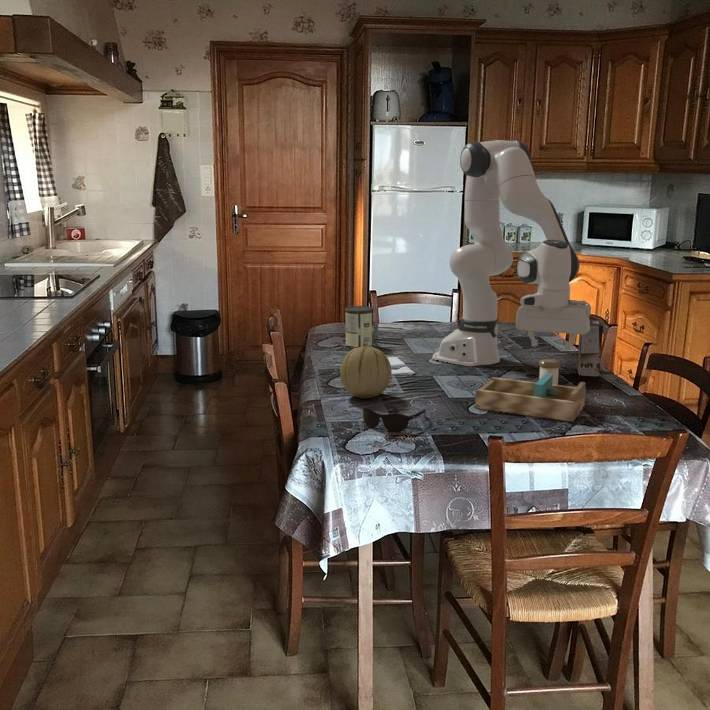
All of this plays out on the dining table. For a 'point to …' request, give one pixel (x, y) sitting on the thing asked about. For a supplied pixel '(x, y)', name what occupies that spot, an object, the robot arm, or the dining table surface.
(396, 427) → the sunglasses
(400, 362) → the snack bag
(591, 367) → the coffee box
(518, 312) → the robot arm
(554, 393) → the block
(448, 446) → the dining table surface
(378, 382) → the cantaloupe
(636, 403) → the dining table surface
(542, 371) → the jar
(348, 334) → the coffee can
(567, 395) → the wooden tray
